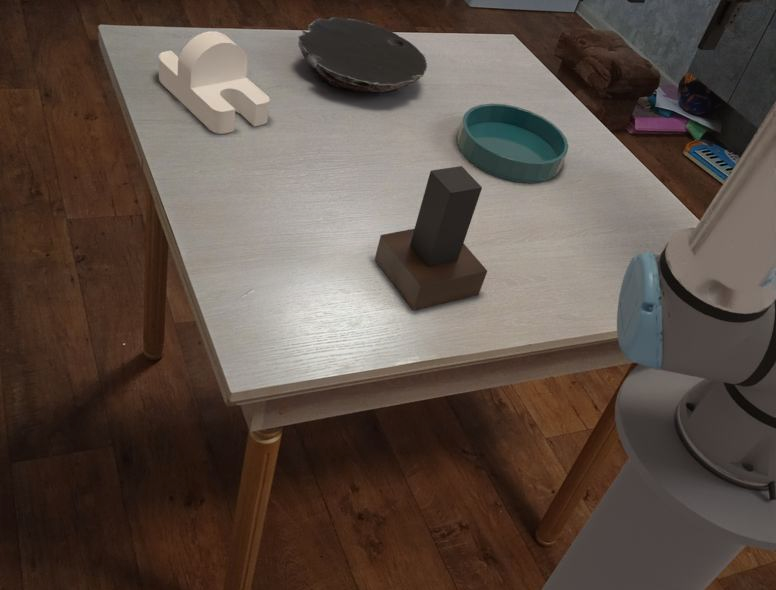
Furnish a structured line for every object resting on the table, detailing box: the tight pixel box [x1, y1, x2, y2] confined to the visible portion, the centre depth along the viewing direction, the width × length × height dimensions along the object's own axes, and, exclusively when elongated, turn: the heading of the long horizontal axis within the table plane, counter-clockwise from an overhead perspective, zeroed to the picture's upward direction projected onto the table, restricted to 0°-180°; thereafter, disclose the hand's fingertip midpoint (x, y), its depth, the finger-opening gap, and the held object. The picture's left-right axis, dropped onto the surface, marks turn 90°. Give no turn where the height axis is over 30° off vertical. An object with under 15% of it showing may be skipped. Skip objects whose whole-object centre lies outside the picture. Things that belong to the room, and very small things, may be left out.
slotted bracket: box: [158, 30, 271, 135], centre depth 122 cm, size 18×10×10 cm, turn 40°
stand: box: [374, 228, 488, 311], centre depth 105 cm, size 10×10×4 cm
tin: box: [456, 103, 569, 184], centre depth 132 cm, size 17×17×4 cm
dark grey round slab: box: [297, 16, 428, 93], centre depth 139 cm, size 22×22×5 cm
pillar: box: [410, 165, 483, 266], centre depth 100 cm, size 4×4×11 cm
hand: (669, 24), depth 110 cm, fingers open, 13 cm apart
